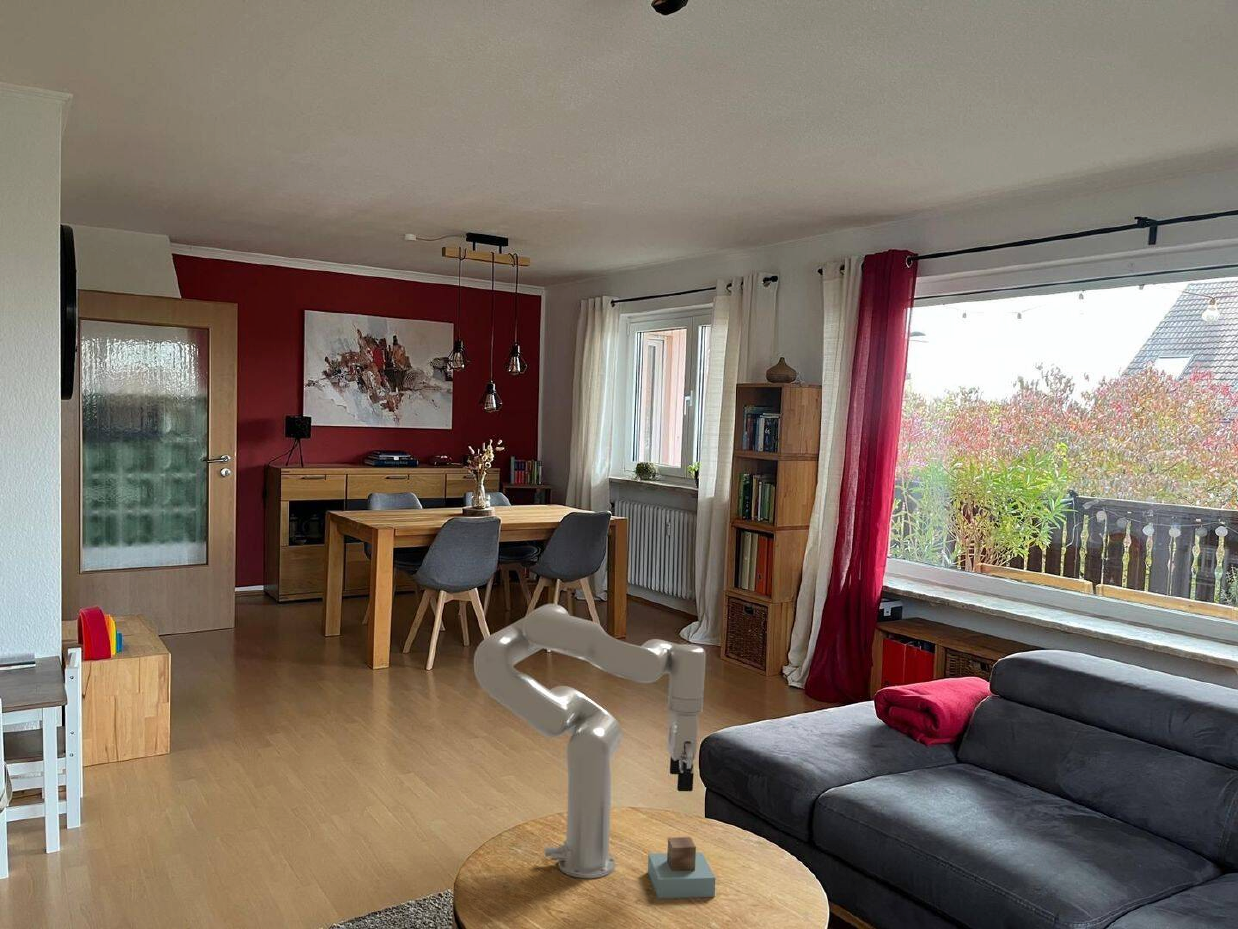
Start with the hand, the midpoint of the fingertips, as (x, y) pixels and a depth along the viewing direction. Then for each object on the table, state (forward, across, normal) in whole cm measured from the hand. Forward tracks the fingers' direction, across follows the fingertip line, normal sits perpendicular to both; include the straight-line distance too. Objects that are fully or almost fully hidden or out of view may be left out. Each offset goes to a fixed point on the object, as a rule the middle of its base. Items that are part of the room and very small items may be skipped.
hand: (680, 782), depth 202 cm
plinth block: (+21, +2, +1) cm, 21 cm away
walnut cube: (+17, +3, +1) cm, 17 cm away
